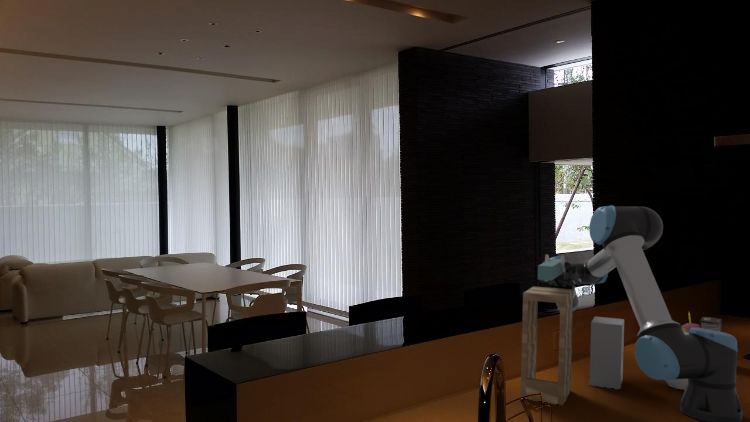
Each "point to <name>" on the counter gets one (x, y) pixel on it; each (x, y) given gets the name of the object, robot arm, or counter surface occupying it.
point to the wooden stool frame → (529, 383)
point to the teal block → (549, 269)
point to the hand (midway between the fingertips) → (554, 258)
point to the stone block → (606, 352)
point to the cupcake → (689, 325)
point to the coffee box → (711, 323)
